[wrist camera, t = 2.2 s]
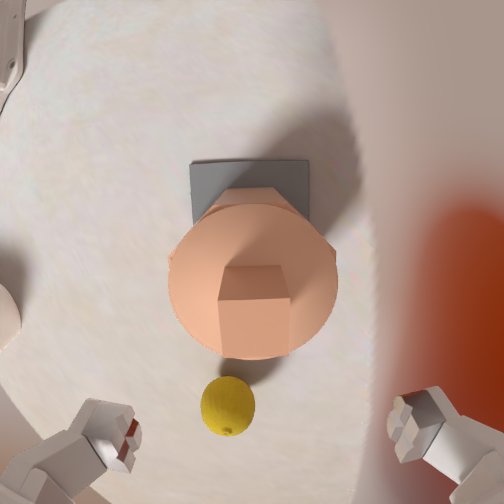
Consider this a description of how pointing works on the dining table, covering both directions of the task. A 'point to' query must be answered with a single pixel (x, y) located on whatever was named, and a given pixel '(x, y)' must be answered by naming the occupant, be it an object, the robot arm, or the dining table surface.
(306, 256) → the cloche
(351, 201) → the dining table surface
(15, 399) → the dining table surface
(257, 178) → the mat
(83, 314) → the dining table surface
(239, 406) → the lemon
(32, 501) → the robot arm
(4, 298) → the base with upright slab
